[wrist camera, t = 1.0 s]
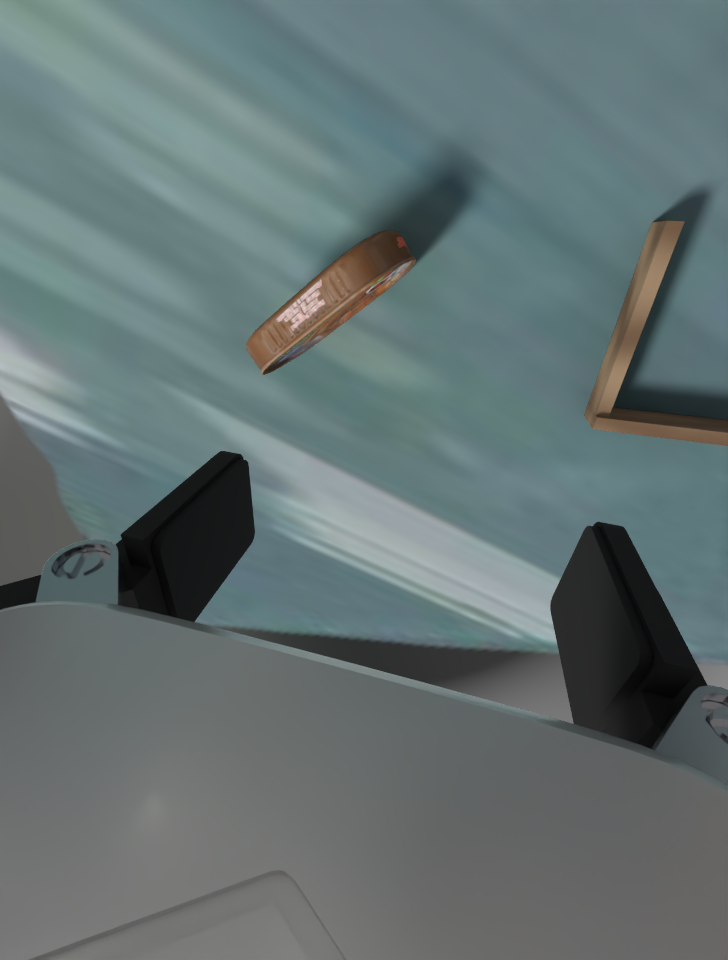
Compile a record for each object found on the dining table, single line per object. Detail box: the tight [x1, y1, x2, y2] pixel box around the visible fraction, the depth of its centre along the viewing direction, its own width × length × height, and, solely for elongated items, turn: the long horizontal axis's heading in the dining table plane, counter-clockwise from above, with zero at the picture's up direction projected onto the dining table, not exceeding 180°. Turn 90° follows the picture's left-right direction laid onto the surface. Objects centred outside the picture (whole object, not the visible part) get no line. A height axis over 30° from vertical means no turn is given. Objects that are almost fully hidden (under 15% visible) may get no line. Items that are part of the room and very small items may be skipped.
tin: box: [246, 231, 416, 375], centre depth 31 cm, size 15×3×8 cm, turn 125°
